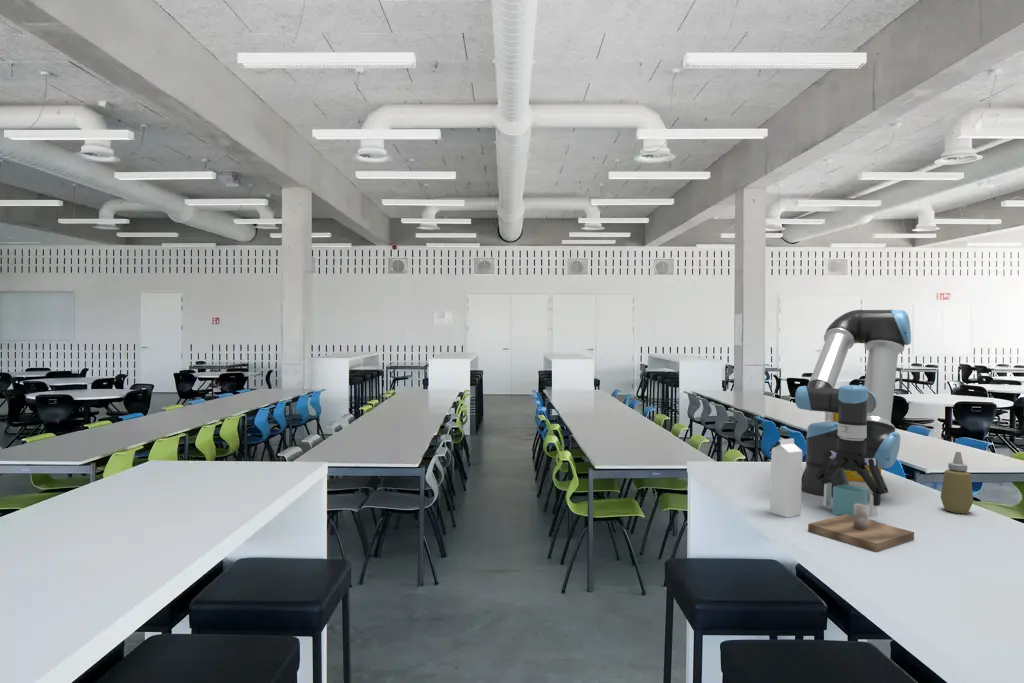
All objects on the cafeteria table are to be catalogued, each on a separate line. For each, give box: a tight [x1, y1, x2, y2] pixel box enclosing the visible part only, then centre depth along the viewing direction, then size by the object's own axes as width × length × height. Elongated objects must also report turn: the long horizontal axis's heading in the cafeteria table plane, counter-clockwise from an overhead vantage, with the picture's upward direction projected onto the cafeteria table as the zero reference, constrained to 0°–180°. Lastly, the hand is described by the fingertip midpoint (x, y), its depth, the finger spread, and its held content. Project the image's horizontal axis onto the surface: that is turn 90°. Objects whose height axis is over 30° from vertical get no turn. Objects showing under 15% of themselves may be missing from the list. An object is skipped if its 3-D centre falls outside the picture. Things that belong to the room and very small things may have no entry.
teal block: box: [831, 484, 868, 516], centre depth 186 cm, size 6×6×8 cm
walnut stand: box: [807, 504, 915, 553], centre depth 167 cm, size 18×18×8 cm
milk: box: [769, 437, 803, 519], centre depth 185 cm, size 6×6×22 cm
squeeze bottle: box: [940, 451, 974, 515], centre depth 191 cm, size 8×8×18 cm
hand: (849, 510), depth 186 cm, fingers open, 13 cm apart
